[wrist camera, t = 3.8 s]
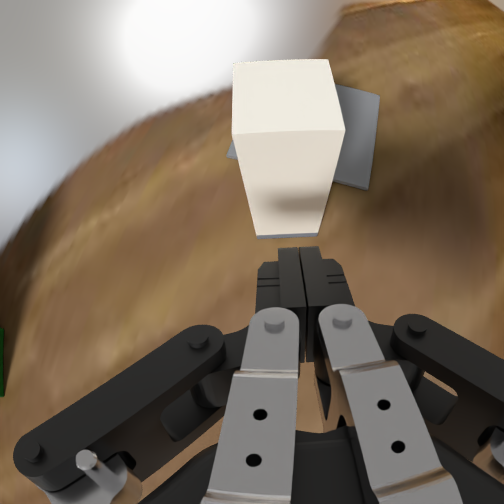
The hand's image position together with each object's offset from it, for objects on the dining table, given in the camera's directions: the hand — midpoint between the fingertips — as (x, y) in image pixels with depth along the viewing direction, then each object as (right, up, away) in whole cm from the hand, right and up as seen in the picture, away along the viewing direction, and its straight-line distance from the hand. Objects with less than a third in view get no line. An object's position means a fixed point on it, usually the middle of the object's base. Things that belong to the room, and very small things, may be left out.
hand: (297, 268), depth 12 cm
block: (+1, +4, +13) cm, 14 cm away
